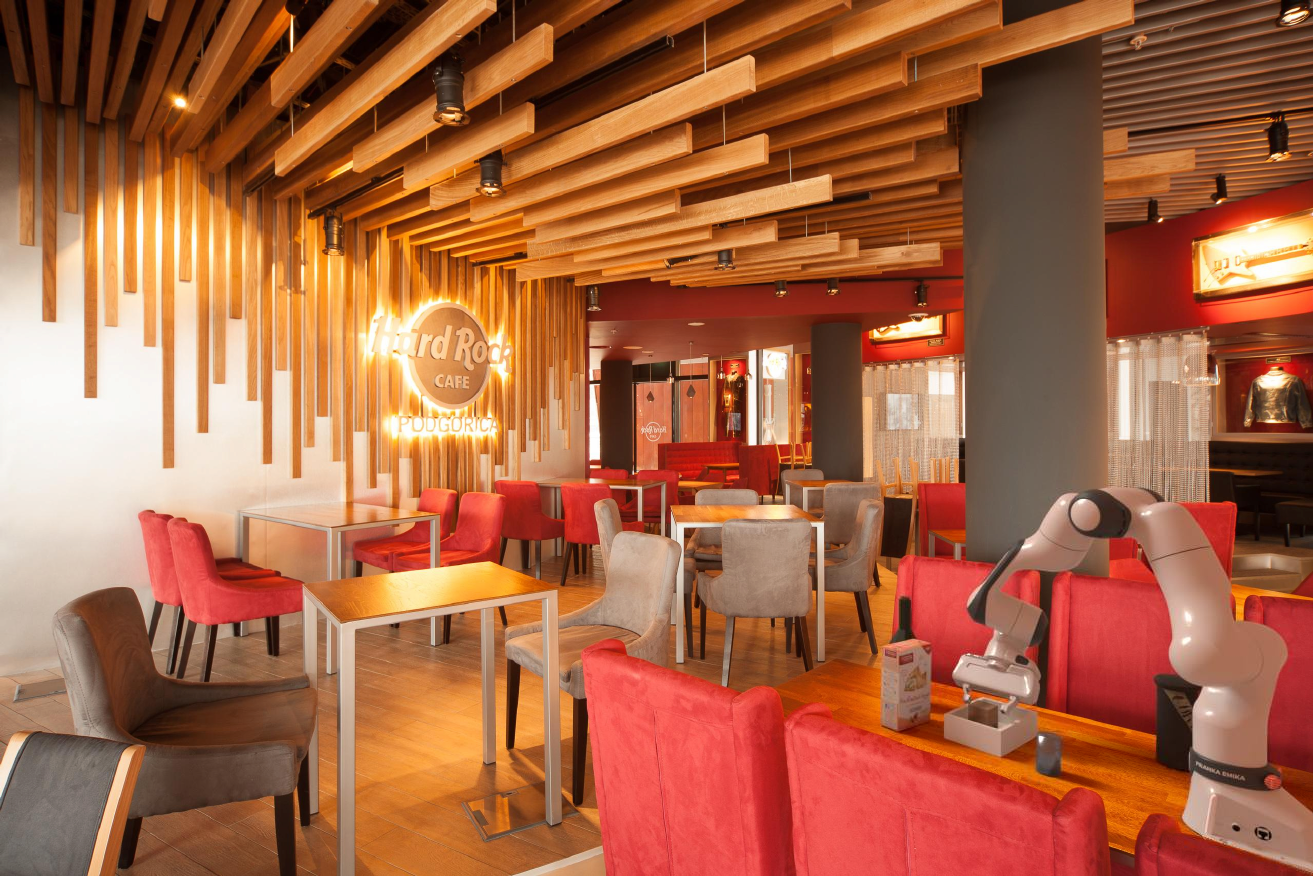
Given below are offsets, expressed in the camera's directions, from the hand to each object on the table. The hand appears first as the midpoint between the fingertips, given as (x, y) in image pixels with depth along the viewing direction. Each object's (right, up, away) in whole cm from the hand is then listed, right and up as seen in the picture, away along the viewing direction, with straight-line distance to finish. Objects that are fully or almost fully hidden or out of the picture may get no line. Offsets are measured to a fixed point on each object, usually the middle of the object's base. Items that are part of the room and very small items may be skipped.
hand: (984, 707), depth 175 cm
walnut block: (-1, -7, -1) cm, 7 cm away
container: (+39, -8, -12) cm, 42 cm away
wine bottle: (-11, -9, +26) cm, 30 cm away
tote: (+3, -8, +2) cm, 9 cm away
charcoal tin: (+6, -8, -17) cm, 20 cm away
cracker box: (-16, -8, +10) cm, 21 cm away
